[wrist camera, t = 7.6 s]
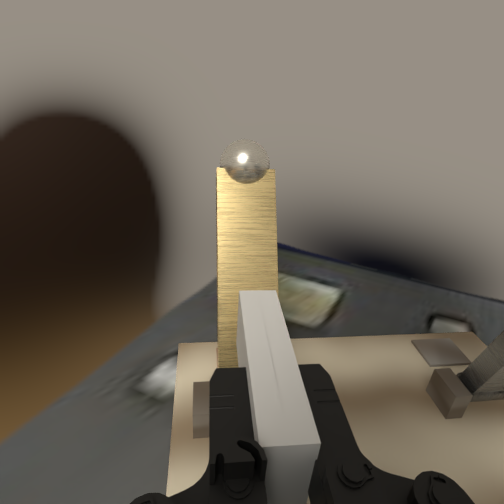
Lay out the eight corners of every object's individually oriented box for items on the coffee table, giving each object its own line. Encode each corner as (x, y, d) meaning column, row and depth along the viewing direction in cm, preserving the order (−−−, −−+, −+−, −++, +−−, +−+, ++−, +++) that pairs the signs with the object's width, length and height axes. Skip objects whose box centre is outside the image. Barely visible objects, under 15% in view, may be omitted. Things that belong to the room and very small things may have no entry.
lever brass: (285, 424, 17) (277, 131, 19) (219, 429, 17) (217, 129, 18) (273, 406, 20) (267, 152, 22) (217, 409, 19) (215, 150, 21)
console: (617, 531, 17) (670, 481, 15) (164, 593, 14) (157, 540, 12) (461, 356, 28) (480, 312, 26) (180, 370, 25) (177, 322, 23)
